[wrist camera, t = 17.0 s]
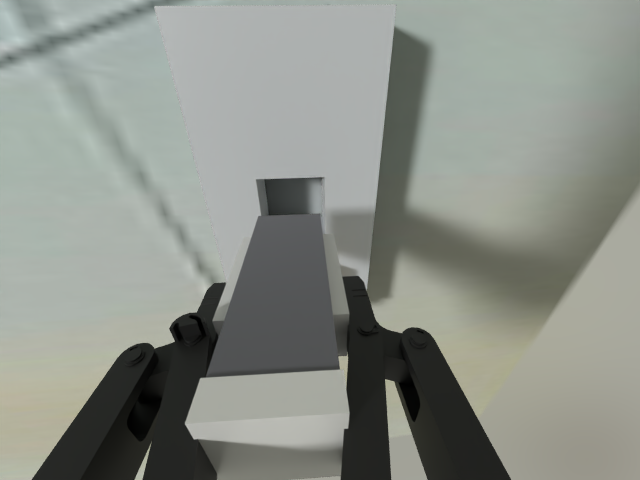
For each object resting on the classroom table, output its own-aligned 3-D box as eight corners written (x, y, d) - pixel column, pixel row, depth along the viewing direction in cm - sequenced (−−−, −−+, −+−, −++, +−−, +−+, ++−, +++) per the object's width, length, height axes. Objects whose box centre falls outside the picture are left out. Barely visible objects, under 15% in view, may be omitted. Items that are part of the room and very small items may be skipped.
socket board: (181, 19, 18) (153, 6, 15) (379, 17, 19) (396, 4, 16) (243, 295, 32) (236, 321, 29) (357, 289, 33) (364, 314, 29)
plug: (256, 214, 17) (185, 423, 7) (321, 212, 17) (349, 412, 7) (264, 266, 19) (219, 484, 9) (322, 264, 19) (344, 475, 9)
